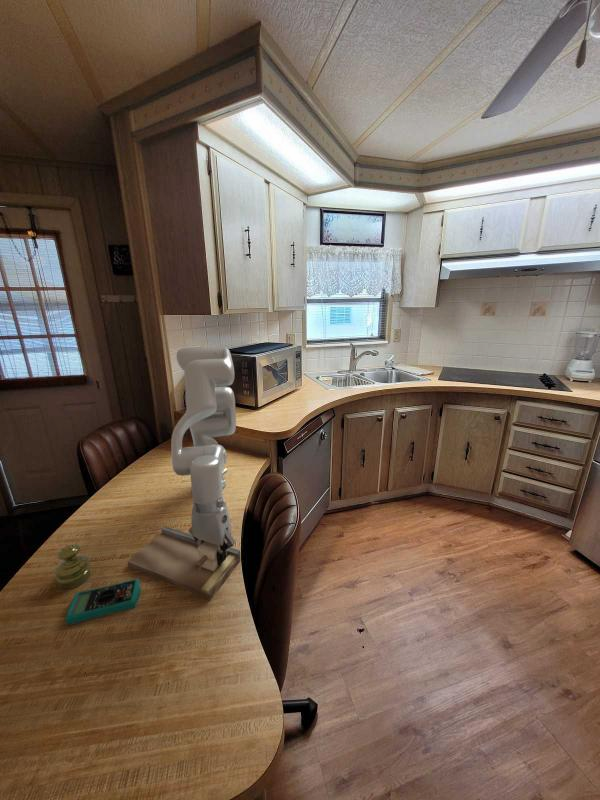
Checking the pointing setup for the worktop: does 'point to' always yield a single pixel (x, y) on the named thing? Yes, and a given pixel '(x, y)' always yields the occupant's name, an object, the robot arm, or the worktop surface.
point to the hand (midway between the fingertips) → (213, 558)
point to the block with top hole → (207, 556)
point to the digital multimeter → (103, 601)
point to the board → (182, 563)
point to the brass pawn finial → (72, 567)
